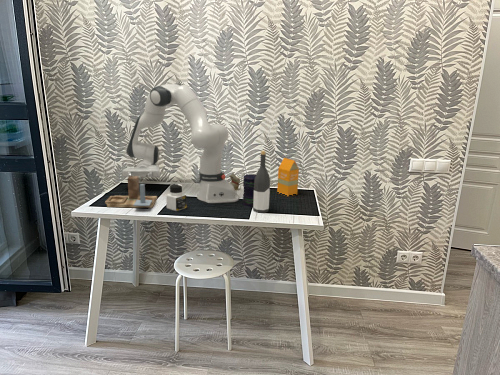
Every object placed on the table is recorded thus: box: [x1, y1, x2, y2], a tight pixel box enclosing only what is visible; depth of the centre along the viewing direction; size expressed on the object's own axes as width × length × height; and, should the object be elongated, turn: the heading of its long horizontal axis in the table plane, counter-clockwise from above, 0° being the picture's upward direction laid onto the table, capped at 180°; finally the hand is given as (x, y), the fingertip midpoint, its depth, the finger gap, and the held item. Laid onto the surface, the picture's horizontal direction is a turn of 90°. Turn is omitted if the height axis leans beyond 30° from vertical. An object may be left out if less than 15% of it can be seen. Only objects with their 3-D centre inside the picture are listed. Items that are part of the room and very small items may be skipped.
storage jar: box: [242, 173, 257, 208], centre depth 210 cm, size 10×10×15 cm
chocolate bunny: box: [229, 172, 241, 191], centre depth 235 cm, size 6×8×10 cm
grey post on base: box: [134, 183, 152, 206], centre depth 198 cm, size 8×8×10 cm
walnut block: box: [127, 176, 140, 199], centre depth 210 cm, size 4×4×11 cm
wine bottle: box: [252, 150, 271, 214], centre depth 199 cm, size 8×8×30 cm
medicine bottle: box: [165, 183, 188, 212], centre depth 202 cm, size 7×7×12 cm
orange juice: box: [276, 157, 300, 197], centre depth 229 cm, size 8×9×20 cm
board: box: [104, 195, 158, 209], centre depth 208 cm, size 23×14×3 cm, turn 93°
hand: (138, 176), depth 220 cm, fingers open, 8 cm apart
